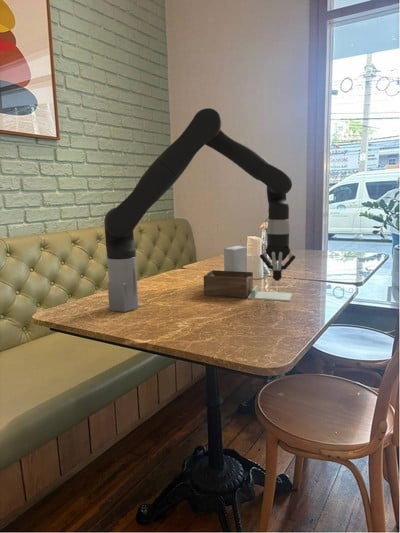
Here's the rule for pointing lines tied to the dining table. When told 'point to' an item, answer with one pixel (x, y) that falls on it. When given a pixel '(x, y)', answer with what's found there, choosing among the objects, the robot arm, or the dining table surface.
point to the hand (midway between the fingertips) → (277, 280)
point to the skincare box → (235, 259)
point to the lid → (269, 295)
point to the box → (228, 284)
